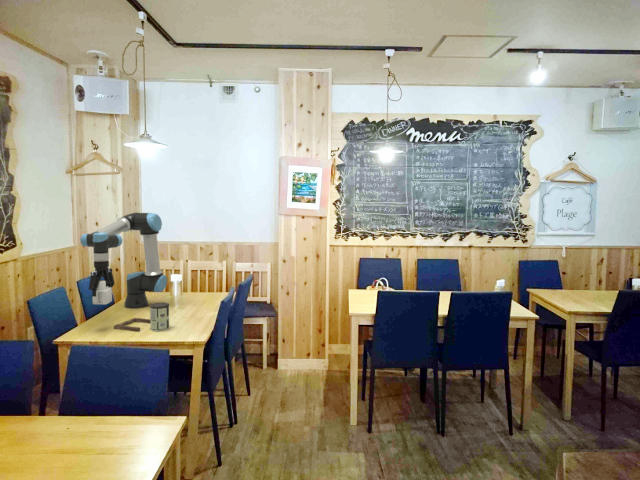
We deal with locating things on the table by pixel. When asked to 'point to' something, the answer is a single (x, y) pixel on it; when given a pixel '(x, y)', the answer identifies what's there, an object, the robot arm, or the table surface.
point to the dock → (123, 325)
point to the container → (103, 292)
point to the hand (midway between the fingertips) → (102, 299)
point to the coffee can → (159, 316)
